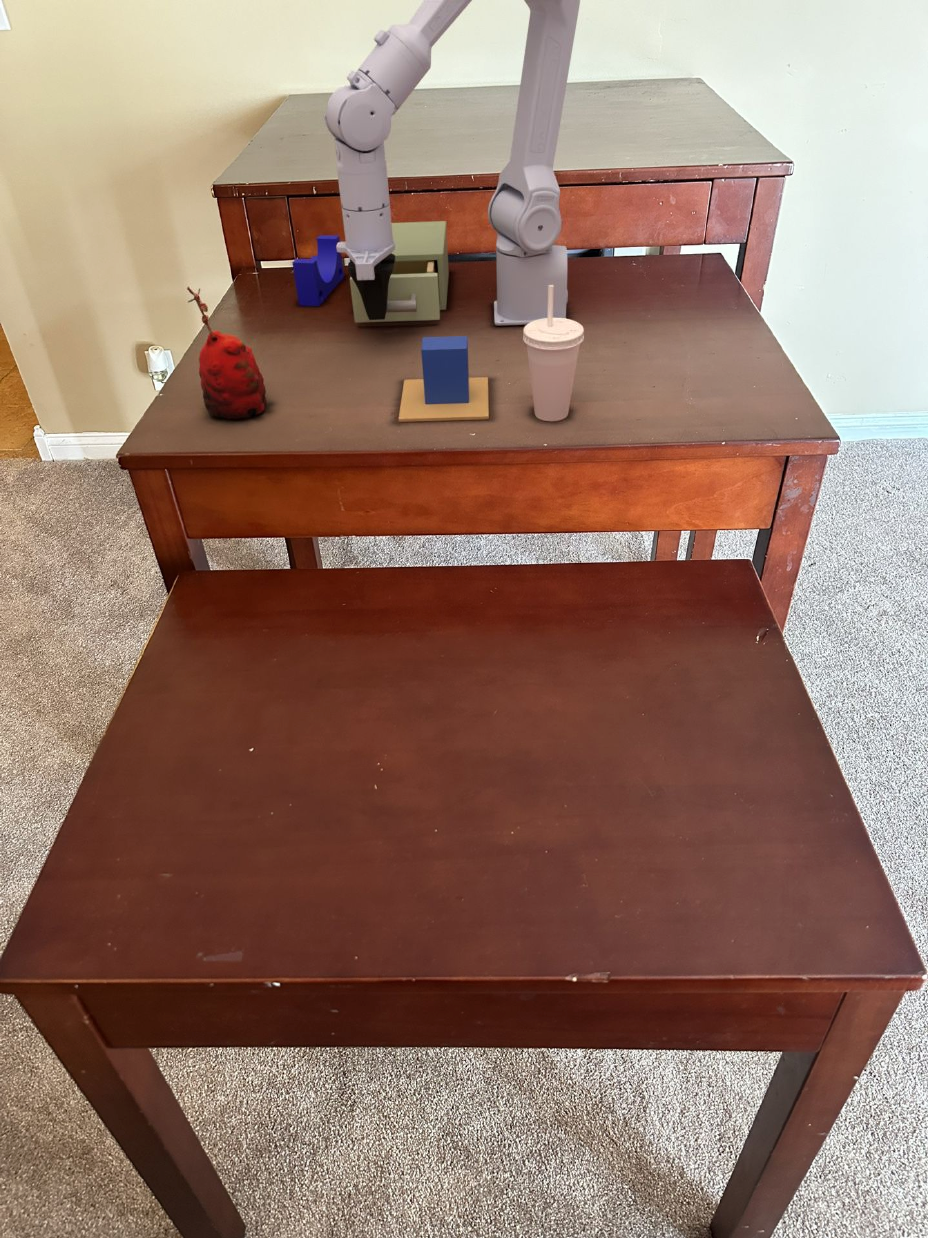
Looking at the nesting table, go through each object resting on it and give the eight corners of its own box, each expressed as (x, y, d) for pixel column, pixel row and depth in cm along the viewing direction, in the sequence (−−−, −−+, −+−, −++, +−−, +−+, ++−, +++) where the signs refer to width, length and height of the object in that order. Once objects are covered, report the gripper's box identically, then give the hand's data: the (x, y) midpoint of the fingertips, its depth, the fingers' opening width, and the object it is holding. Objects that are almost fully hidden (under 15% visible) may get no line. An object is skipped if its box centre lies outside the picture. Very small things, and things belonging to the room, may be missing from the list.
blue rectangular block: (469, 389, 104) (467, 335, 100) (469, 403, 101) (467, 348, 97) (426, 391, 104) (422, 337, 100) (425, 404, 102) (421, 349, 97)
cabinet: (445, 309, 124) (442, 253, 120) (355, 312, 125) (349, 256, 120) (448, 273, 136) (446, 220, 131) (366, 276, 136) (360, 223, 131)
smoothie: (552, 394, 103) (556, 271, 94) (592, 414, 99) (599, 287, 90) (510, 412, 100) (510, 286, 91) (549, 432, 96) (553, 303, 87)
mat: (488, 379, 107) (488, 376, 107) (488, 419, 99) (488, 416, 99) (404, 382, 107) (404, 379, 107) (398, 421, 99) (398, 418, 99)
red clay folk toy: (281, 410, 103) (256, 278, 93) (228, 431, 99) (197, 296, 90) (245, 390, 107) (218, 262, 98) (193, 410, 104) (160, 279, 94)
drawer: (438, 331, 116) (436, 287, 113) (351, 334, 117) (345, 290, 113) (443, 283, 130) (440, 242, 126) (364, 286, 130) (360, 245, 126)
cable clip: (316, 275, 137) (310, 234, 133) (344, 276, 136) (339, 235, 132) (289, 304, 128) (282, 261, 124) (319, 306, 127) (312, 262, 123)
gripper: (339, 188, 111) (352, 297, 120) (323, 224, 100) (339, 341, 109) (395, 186, 111) (404, 295, 120) (386, 221, 100) (397, 339, 109)
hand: (377, 317), depth 114 cm, fingers closed
